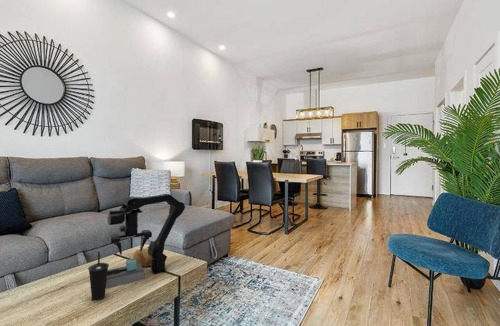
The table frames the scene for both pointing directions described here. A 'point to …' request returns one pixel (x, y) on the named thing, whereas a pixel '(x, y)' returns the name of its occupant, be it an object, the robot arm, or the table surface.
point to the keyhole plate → (124, 276)
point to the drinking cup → (98, 279)
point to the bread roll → (142, 257)
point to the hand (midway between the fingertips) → (131, 253)
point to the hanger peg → (130, 264)
